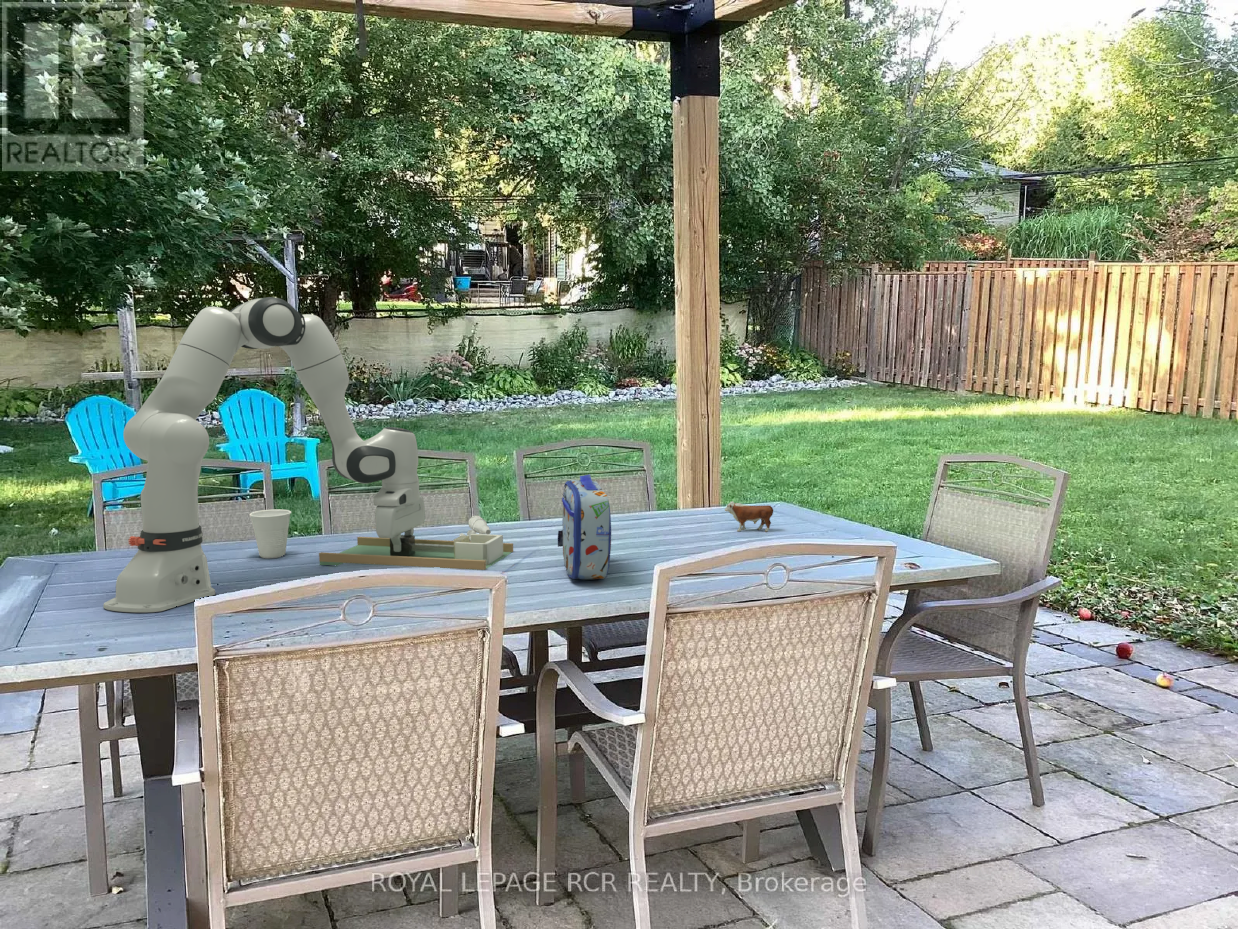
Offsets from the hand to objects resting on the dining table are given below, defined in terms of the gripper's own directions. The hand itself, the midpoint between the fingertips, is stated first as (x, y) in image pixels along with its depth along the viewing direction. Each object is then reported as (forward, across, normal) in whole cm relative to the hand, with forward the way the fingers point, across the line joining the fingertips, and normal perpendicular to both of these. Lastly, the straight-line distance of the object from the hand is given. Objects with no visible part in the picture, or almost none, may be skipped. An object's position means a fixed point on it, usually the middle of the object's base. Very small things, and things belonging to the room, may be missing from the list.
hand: (402, 549), depth 246 cm
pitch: (+3, 0, +4) cm, 5 cm away
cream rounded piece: (+3, -21, +11) cm, 24 cm away
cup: (+3, +3, -34) cm, 34 cm away
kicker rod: (+1, 0, +7) cm, 7 cm away
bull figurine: (+3, -53, +79) cm, 95 cm away
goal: (+3, 0, +20) cm, 20 cm away
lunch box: (+3, +3, +47) cm, 47 cm away
